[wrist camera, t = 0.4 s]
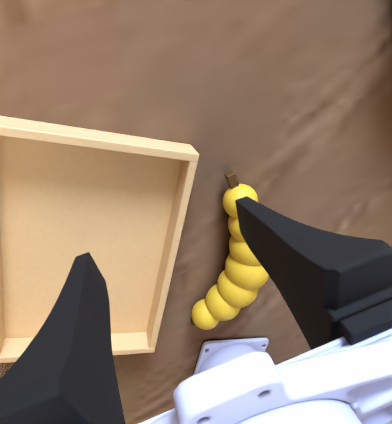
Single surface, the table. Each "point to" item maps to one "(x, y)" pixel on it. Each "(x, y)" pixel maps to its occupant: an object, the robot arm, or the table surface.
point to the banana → (232, 269)
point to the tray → (88, 225)
